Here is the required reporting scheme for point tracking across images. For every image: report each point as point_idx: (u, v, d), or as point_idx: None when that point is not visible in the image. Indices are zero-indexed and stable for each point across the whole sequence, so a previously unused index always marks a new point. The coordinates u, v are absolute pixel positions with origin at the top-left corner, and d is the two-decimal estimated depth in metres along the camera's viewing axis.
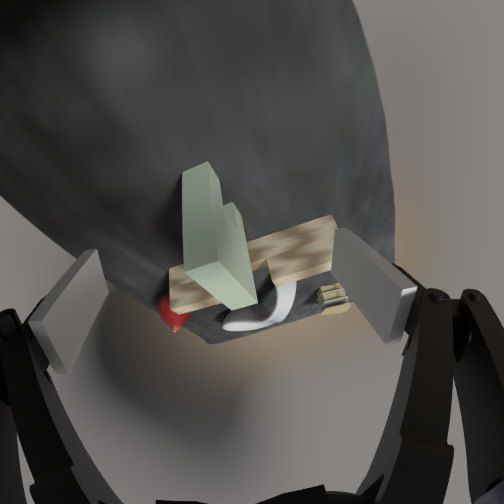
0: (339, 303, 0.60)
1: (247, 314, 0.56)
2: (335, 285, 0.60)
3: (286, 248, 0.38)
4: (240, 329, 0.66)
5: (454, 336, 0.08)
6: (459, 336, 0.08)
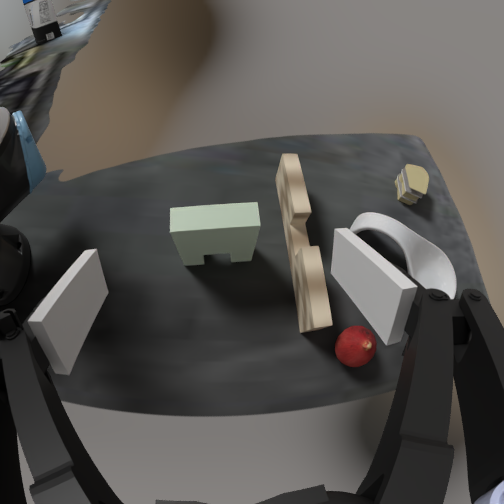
0: None
1: (408, 272, 0.40)
2: (396, 185, 0.51)
3: (285, 207, 0.43)
4: (452, 295, 0.41)
5: (454, 336, 0.08)
6: (459, 336, 0.08)
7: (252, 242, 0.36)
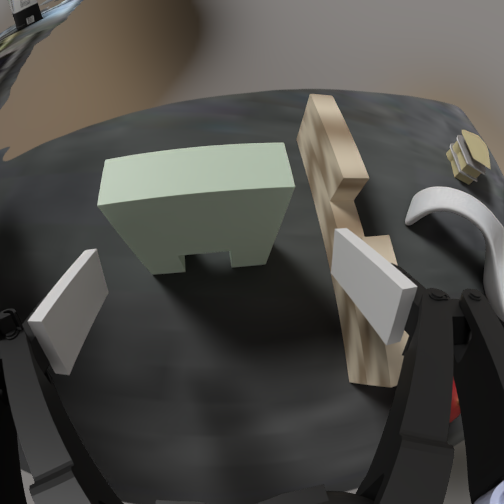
0: None
1: (488, 274, 0.23)
2: (450, 158, 0.33)
3: (320, 175, 0.25)
4: None
5: (454, 336, 0.08)
6: (459, 336, 0.08)
7: (271, 229, 0.18)
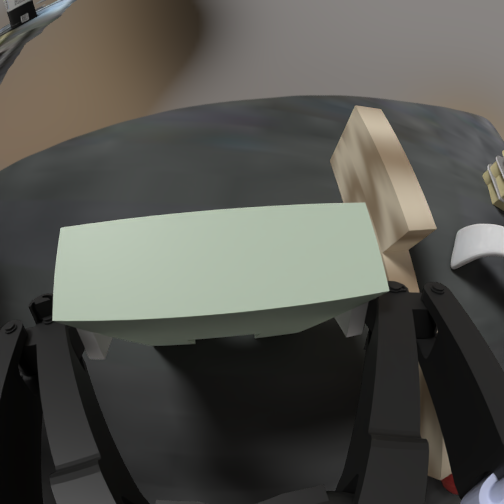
0: None
1: None
2: (487, 181, 0.27)
3: None
4: None
5: (415, 330, 0.09)
6: (421, 330, 0.09)
7: (324, 318, 0.12)
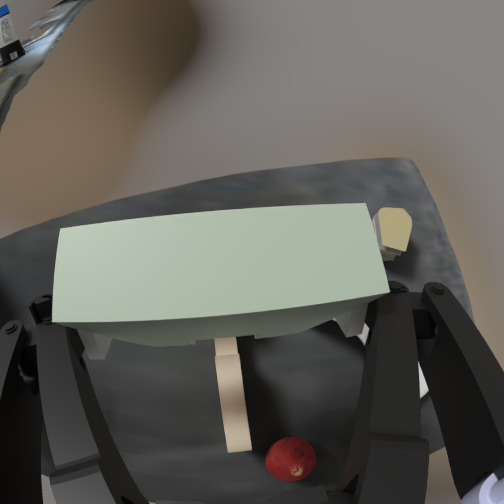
0: None
1: None
2: None
3: None
4: None
5: (416, 330, 0.09)
6: (421, 330, 0.09)
7: (324, 319, 0.12)
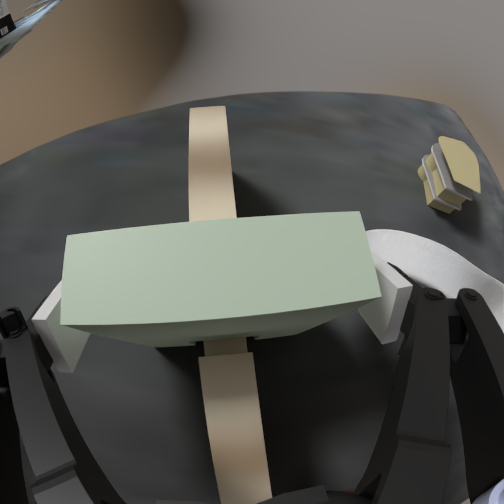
0: None
1: None
2: (422, 176, 0.26)
3: None
4: None
5: (450, 335, 0.09)
6: (455, 335, 0.08)
7: (320, 321, 0.13)
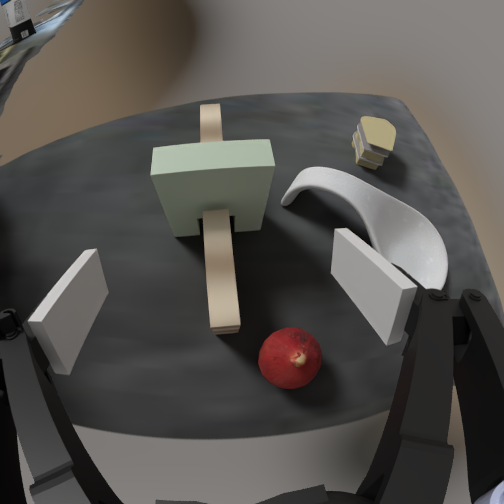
0: None
1: None
2: (354, 146, 0.39)
3: None
4: (443, 274, 0.30)
5: (454, 336, 0.08)
6: (459, 336, 0.08)
7: (262, 197, 0.26)
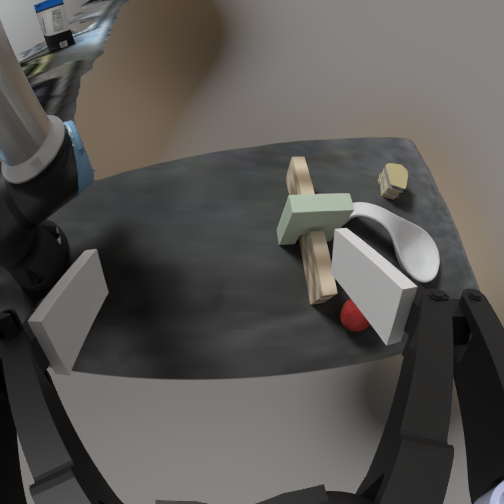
0: None
1: (394, 249, 0.49)
2: (379, 182, 0.58)
3: None
4: (436, 266, 0.49)
5: (454, 336, 0.08)
6: (459, 336, 0.08)
7: (340, 224, 0.46)
